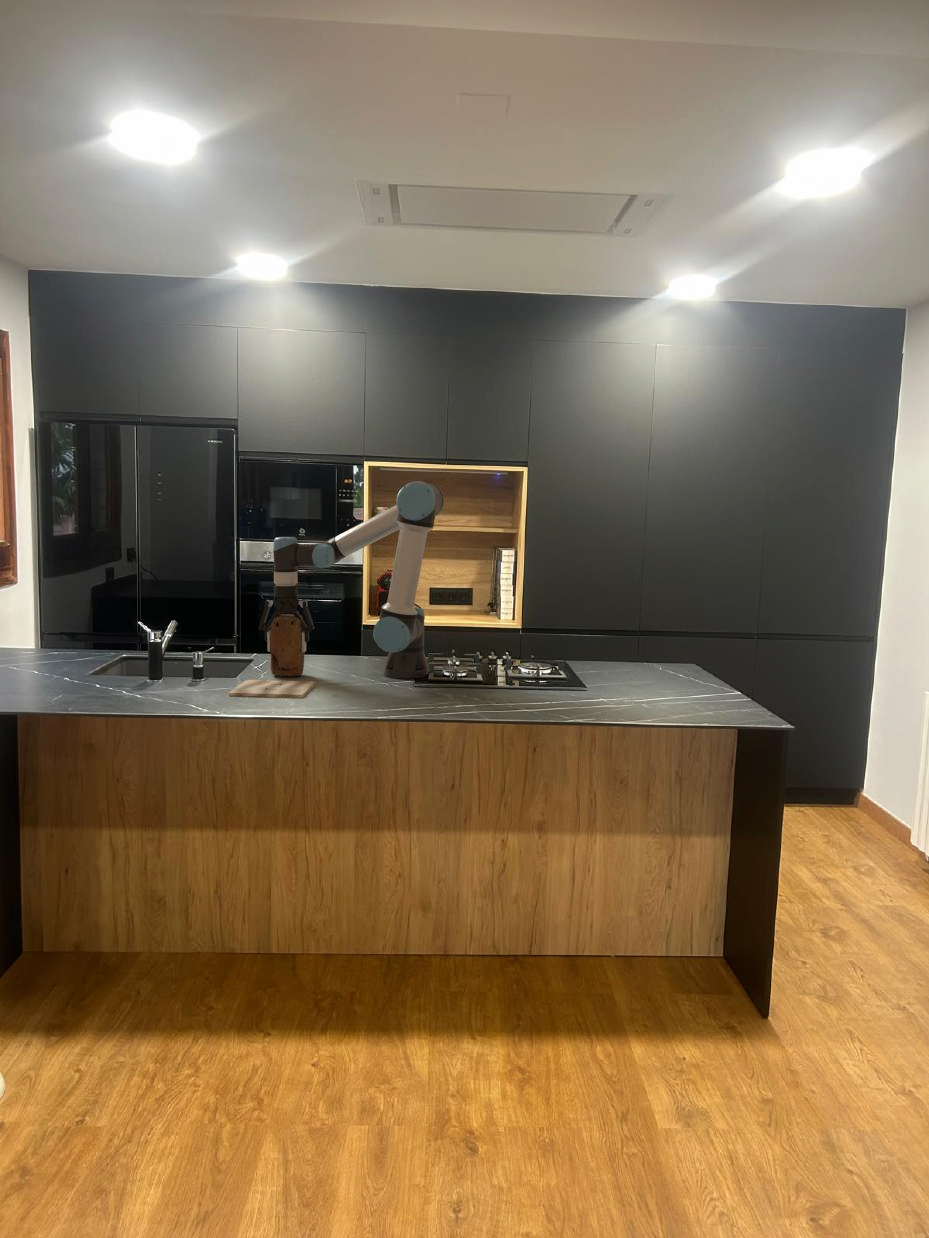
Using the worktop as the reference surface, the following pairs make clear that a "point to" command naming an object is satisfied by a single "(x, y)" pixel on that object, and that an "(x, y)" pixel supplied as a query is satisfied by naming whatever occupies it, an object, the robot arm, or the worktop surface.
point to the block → (286, 646)
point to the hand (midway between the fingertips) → (287, 651)
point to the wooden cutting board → (273, 688)
